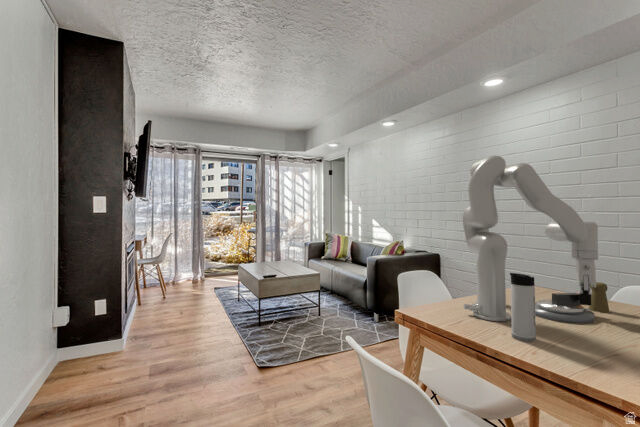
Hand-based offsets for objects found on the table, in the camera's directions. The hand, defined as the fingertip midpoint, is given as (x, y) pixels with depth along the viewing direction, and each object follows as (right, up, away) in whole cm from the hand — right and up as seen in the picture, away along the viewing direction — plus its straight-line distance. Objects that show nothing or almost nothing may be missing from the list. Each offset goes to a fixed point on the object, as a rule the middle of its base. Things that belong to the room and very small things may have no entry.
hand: (585, 304), depth 116 cm
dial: (-6, -2, +3) cm, 7 cm away
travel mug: (-35, -5, -19) cm, 41 cm away
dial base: (-7, -5, +3) cm, 9 cm away
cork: (+12, -5, +8) cm, 15 cm away
